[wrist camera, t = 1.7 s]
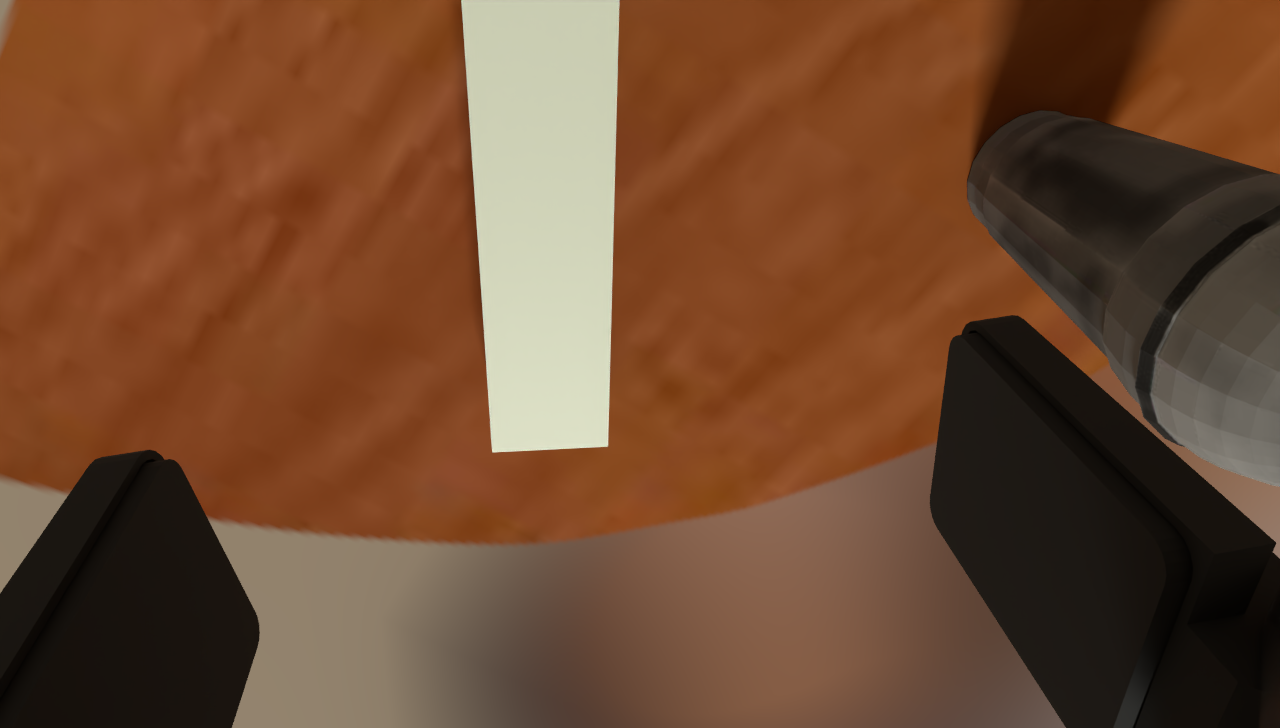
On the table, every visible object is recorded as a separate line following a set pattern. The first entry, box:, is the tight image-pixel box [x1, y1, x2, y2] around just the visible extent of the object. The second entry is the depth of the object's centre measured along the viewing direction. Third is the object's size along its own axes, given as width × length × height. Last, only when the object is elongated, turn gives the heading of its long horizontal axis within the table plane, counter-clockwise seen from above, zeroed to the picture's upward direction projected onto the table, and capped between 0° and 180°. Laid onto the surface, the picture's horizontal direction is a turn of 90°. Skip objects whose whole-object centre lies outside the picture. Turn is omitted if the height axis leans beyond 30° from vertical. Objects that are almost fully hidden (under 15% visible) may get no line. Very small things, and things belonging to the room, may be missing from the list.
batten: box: [461, 0, 619, 452], centre depth 24 cm, size 22×4×4 cm, turn 178°
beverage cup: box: [967, 110, 1280, 487], centre depth 21 cm, size 7×7×20 cm
